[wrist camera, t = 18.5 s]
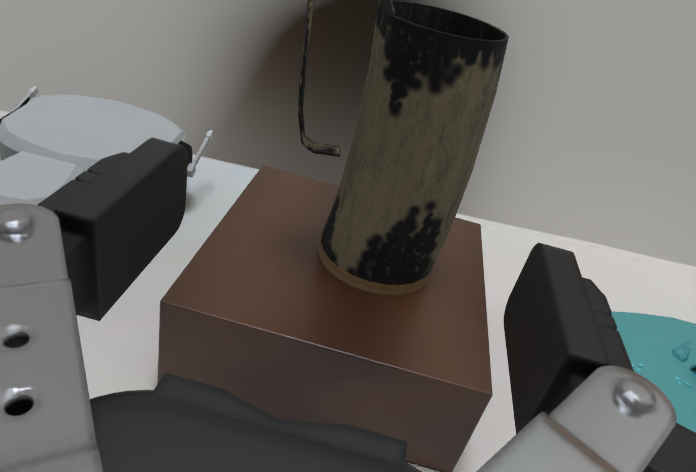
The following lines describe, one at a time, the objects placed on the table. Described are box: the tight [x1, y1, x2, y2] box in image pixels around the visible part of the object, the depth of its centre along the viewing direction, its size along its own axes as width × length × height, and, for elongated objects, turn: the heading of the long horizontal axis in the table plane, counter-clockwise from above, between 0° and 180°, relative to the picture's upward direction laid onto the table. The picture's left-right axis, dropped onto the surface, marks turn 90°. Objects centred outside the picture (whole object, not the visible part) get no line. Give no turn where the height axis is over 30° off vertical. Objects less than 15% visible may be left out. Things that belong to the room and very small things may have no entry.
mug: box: [298, 0, 509, 295], centre depth 23 cm, size 8×6×12 cm
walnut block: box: [158, 166, 492, 472], centre depth 27 cm, size 13×13×5 cm
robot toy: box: [0, 86, 213, 205], centre depth 32 cm, size 12×4×15 cm
